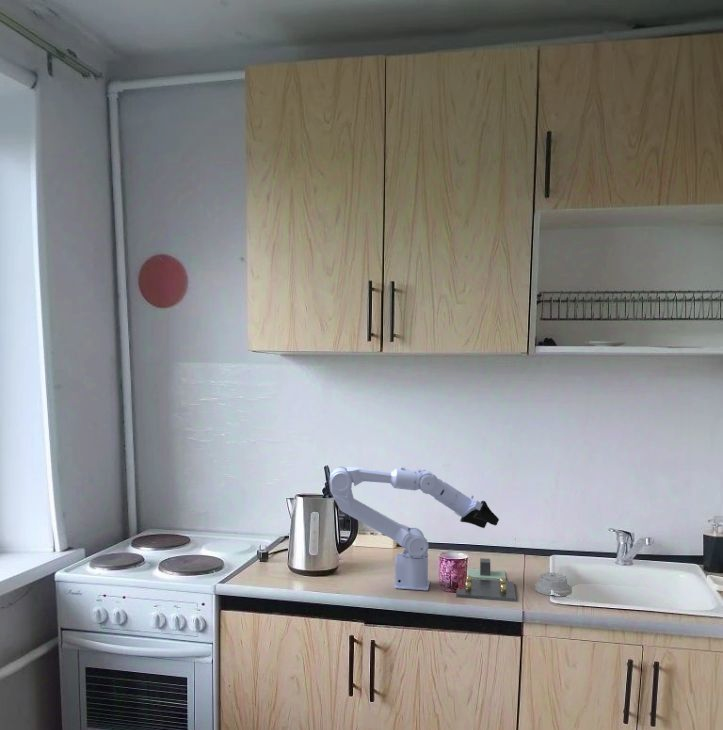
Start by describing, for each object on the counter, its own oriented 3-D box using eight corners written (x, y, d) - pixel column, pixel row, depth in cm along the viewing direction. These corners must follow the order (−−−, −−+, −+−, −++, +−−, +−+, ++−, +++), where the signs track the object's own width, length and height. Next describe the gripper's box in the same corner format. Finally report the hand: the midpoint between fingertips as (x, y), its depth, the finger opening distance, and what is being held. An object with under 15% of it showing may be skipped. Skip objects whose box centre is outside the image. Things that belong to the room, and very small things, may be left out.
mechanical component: (577, 590, 176) (543, 583, 182) (577, 575, 176) (543, 568, 182) (564, 600, 168) (529, 592, 174) (563, 584, 168) (529, 576, 174)
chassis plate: (456, 597, 169) (456, 586, 169) (458, 580, 183) (458, 571, 183) (516, 601, 166) (516, 590, 166) (513, 584, 180) (513, 574, 180)
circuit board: (465, 579, 186) (465, 563, 186) (465, 571, 193) (465, 555, 194) (505, 582, 183) (506, 565, 184) (504, 574, 191) (504, 557, 191)
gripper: (468, 483, 175) (508, 508, 175) (448, 490, 188) (485, 514, 188) (458, 504, 172) (498, 530, 172) (438, 510, 185) (476, 535, 185)
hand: (491, 523), depth 180 cm, fingers open, 7 cm apart
